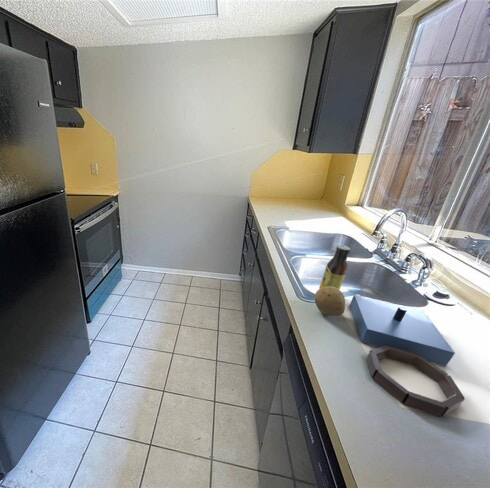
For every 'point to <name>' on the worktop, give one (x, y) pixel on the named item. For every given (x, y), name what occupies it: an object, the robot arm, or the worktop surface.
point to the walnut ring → (409, 397)
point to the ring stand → (399, 329)
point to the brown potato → (330, 301)
